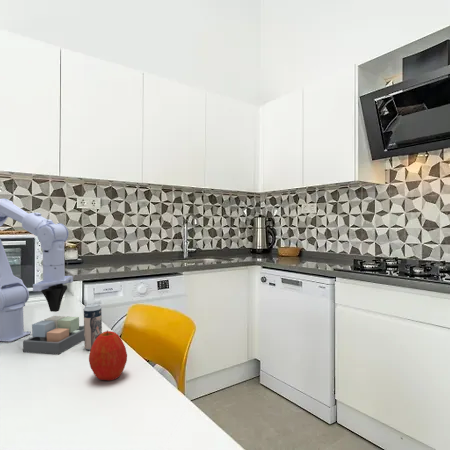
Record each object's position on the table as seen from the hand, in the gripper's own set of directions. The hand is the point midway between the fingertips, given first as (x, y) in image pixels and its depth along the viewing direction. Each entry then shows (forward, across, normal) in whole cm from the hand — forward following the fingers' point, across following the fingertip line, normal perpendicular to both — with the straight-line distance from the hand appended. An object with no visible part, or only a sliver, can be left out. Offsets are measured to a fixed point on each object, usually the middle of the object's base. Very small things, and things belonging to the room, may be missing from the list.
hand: (54, 311), depth 102 cm
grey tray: (+9, -1, -2) cm, 9 cm away
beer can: (+9, -2, -14) cm, 17 cm away
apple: (+9, -18, -28) cm, 35 cm away
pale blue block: (+6, -4, +1) cm, 7 cm away
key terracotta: (+8, -4, -4) cm, 10 cm away
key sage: (+6, +1, -4) cm, 7 cm away
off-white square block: (+6, +1, +1) cm, 6 cm away
